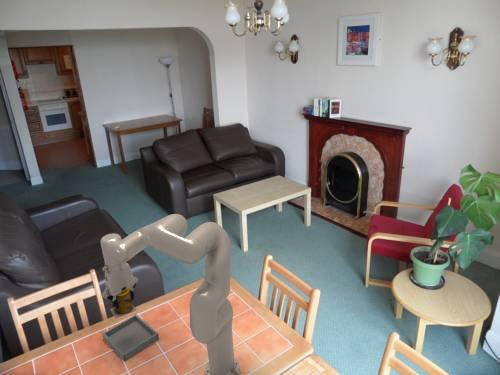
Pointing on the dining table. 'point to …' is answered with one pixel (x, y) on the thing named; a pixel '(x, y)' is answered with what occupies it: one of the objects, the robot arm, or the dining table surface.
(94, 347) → the dining table surface
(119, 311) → the condiment
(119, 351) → the tray
